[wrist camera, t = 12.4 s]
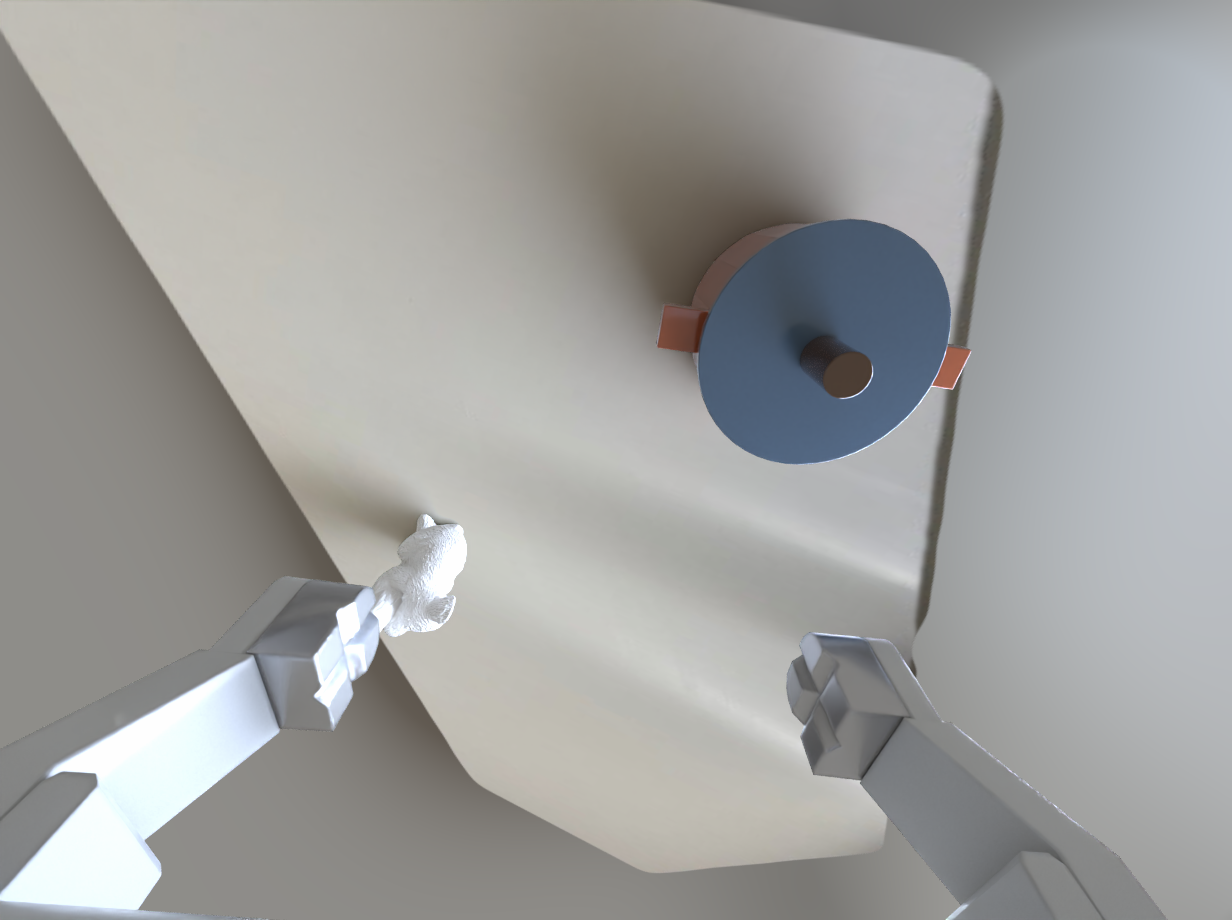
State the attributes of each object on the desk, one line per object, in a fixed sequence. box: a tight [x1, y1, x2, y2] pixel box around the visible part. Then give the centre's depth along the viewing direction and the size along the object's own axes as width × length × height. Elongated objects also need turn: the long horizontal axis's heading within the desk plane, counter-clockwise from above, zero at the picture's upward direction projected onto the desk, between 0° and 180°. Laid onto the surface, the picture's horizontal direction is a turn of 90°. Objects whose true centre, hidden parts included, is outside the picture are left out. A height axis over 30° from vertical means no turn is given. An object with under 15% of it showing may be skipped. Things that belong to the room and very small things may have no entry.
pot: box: [656, 223, 971, 389], centre depth 30 cm, size 13×18×8 cm
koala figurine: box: [371, 514, 467, 637], centre depth 38 cm, size 8×7×12 cm
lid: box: [697, 219, 951, 464], centre depth 25 cm, size 14×14×5 cm
